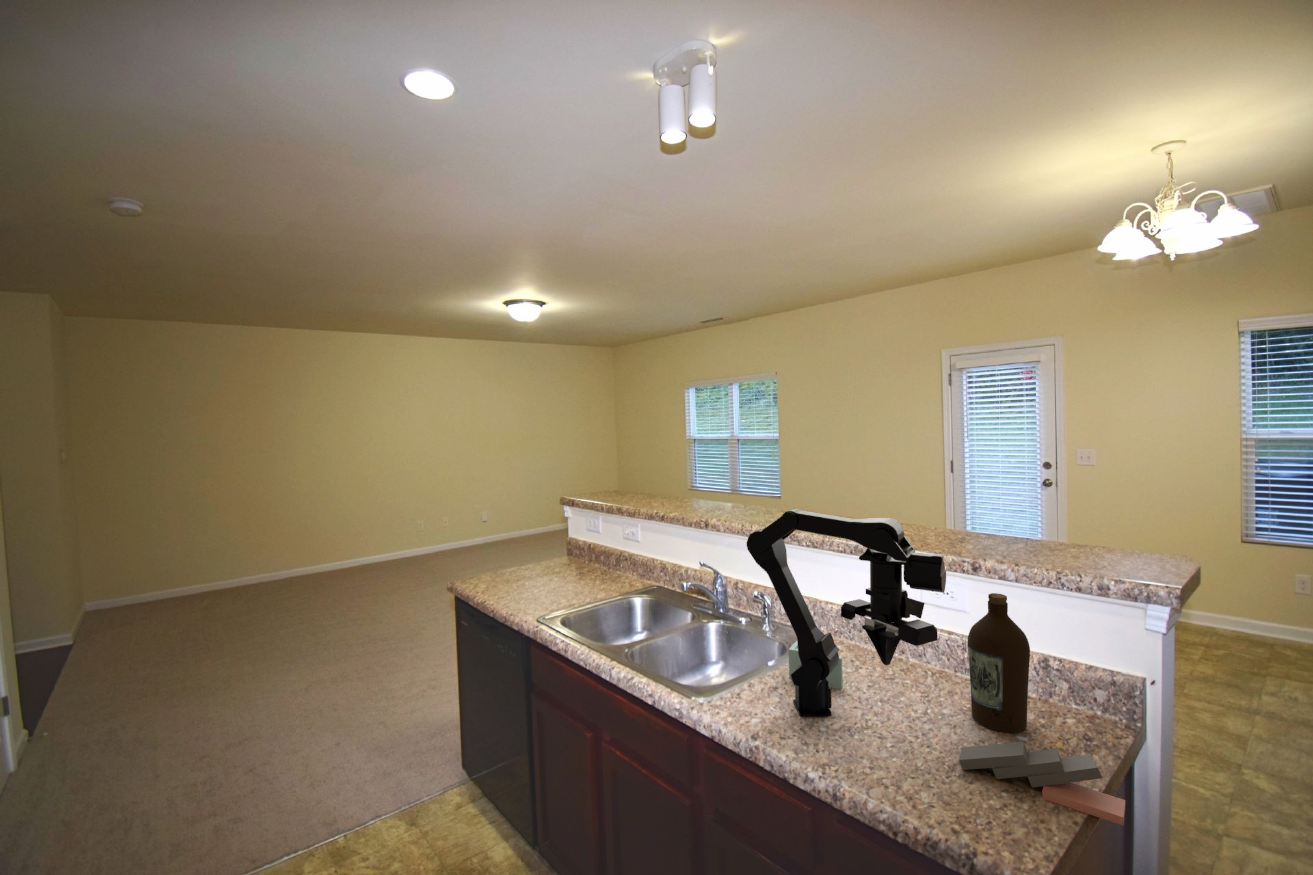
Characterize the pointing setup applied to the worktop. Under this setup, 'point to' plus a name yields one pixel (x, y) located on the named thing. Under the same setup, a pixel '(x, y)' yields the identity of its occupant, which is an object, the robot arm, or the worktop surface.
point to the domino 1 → (993, 756)
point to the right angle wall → (833, 678)
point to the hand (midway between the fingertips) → (886, 664)
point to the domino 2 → (1033, 765)
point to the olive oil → (999, 669)
